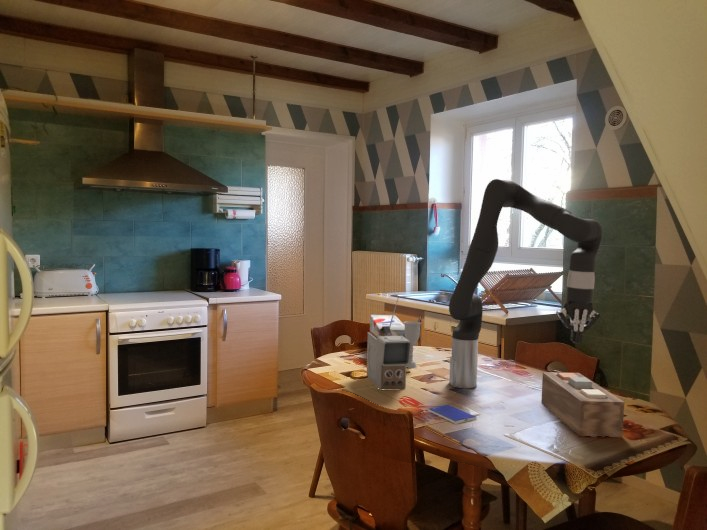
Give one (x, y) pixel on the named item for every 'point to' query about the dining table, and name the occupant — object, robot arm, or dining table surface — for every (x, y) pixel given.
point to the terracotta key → (566, 375)
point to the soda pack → (387, 323)
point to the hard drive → (452, 414)
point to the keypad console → (583, 407)
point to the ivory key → (593, 393)
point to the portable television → (387, 358)
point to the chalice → (412, 337)
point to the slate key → (580, 383)
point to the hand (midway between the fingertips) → (575, 342)
